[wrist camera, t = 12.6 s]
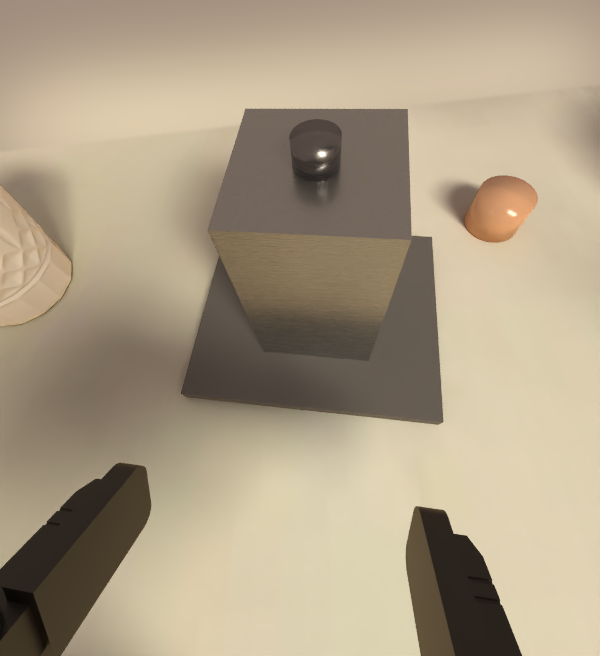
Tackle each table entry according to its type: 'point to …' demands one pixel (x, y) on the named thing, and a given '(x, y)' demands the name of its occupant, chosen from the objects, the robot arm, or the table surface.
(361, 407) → the mat
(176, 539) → the table surface
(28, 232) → the white cup
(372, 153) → the knobbed wood block
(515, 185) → the peach rounded capsule
